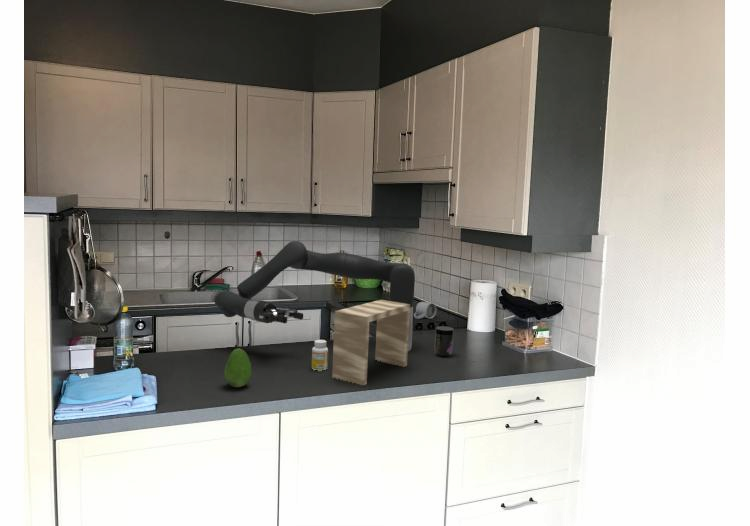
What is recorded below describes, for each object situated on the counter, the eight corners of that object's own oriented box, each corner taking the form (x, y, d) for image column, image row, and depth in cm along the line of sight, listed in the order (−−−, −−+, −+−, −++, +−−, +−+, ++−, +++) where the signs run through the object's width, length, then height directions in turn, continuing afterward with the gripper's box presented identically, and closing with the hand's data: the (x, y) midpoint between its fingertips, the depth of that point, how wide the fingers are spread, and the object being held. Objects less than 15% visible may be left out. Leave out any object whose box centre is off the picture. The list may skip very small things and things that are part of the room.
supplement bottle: (319, 365, 205) (320, 338, 204) (330, 369, 202) (331, 341, 200) (308, 368, 201) (309, 340, 200) (319, 372, 197) (320, 344, 196)
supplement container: (445, 358, 220) (447, 331, 219) (430, 355, 225) (432, 328, 223) (455, 355, 226) (457, 328, 224) (440, 351, 230) (442, 325, 228)
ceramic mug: (424, 314, 298) (424, 299, 297) (436, 317, 292) (437, 302, 291) (409, 317, 291) (410, 302, 290) (422, 320, 285) (422, 304, 284)
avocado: (241, 392, 175) (242, 353, 174) (219, 388, 178) (219, 349, 176) (256, 384, 182) (257, 346, 181) (234, 380, 185) (235, 343, 184)
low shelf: (378, 359, 216) (380, 299, 213) (406, 365, 209) (410, 304, 207) (332, 378, 192) (334, 311, 190) (363, 385, 186) (366, 316, 183)
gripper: (246, 303, 207) (281, 310, 199) (273, 298, 219) (308, 305, 211) (245, 324, 208) (280, 332, 200) (273, 318, 220) (307, 325, 212)
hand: (294, 318), depth 205 cm, fingers open, 8 cm apart
